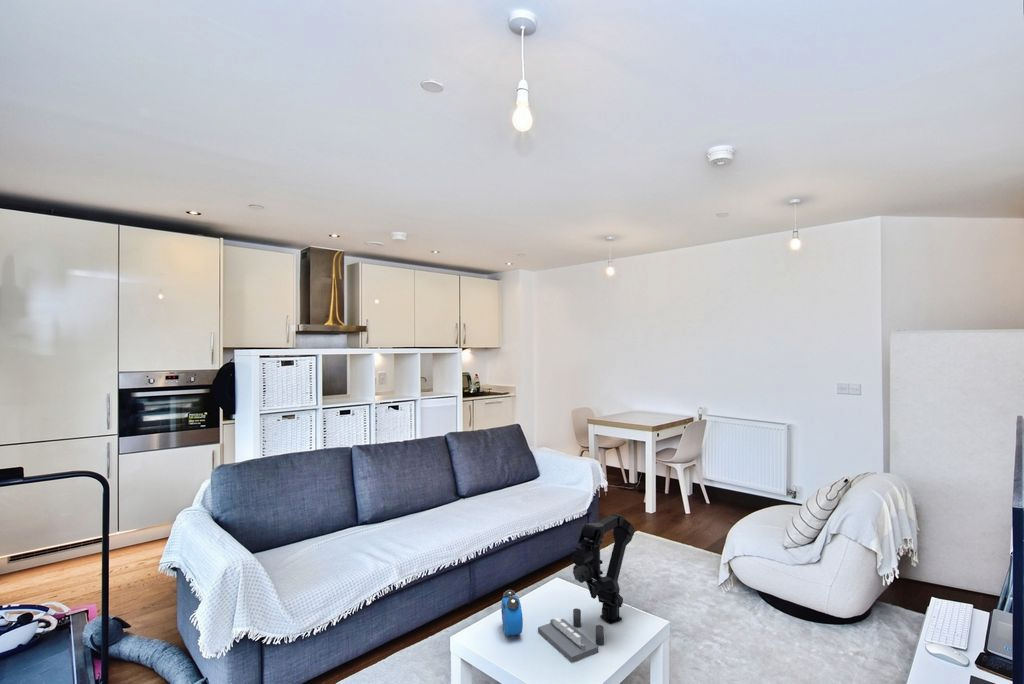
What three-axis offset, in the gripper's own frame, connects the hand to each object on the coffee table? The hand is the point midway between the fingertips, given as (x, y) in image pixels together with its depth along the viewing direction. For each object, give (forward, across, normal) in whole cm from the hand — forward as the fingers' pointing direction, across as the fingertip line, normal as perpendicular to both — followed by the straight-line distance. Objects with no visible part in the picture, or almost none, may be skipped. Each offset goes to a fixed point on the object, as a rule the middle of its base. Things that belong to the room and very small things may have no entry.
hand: (593, 598), depth 190 cm
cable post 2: (+13, +7, -3) cm, 15 cm away
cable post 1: (+13, -7, -3) cm, 15 cm away
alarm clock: (+13, -16, -28) cm, 35 cm away
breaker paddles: (+10, 0, -13) cm, 16 cm away
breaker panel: (+13, 0, -13) cm, 18 cm away
